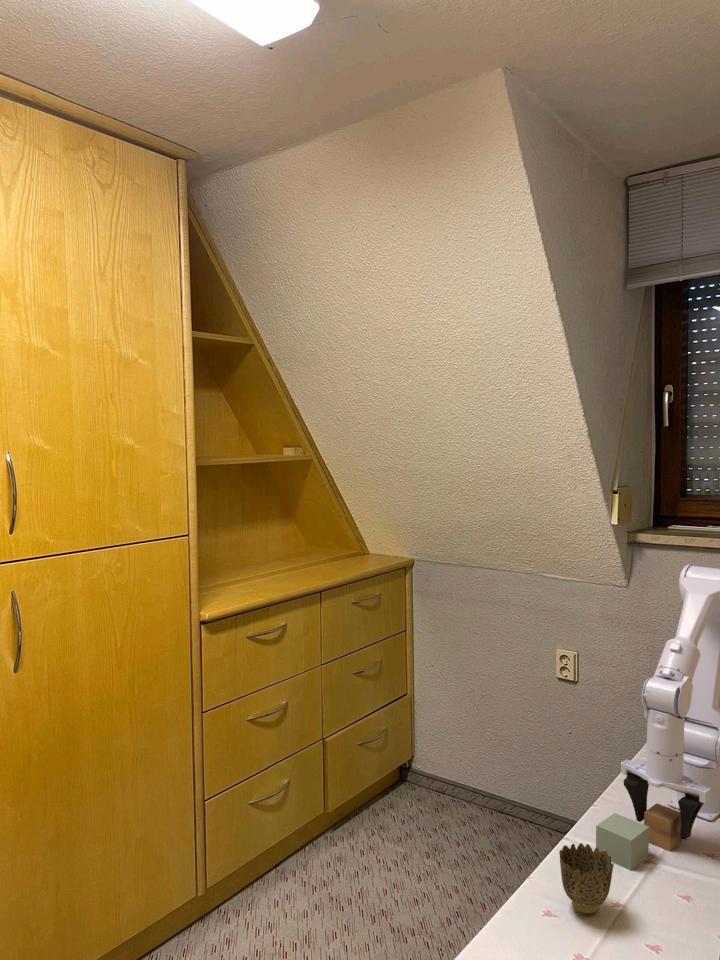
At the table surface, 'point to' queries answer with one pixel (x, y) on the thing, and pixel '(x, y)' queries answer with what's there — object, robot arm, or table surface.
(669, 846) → the walnut block
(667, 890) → the table surface
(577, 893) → the cup
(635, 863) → the grey block
